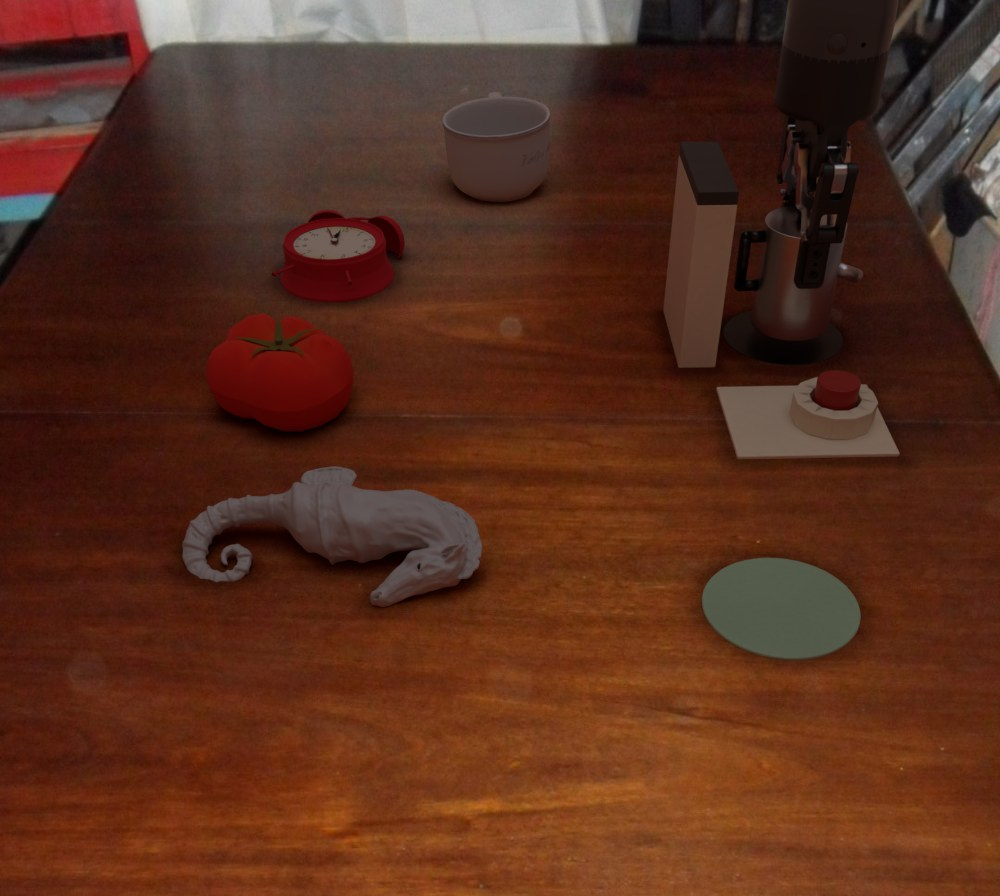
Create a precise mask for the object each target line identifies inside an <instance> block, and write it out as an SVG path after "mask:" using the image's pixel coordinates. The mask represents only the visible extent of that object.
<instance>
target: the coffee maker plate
mask: <svg viewBox="0 0 1000 896" xmlns="http://www.w3.org/2000/svg"><path fill="white" fill-rule="evenodd" d="M751 313H752V310H748V311H744V312H742V313H738V314H737V315H734V316H733V317H731V318H730V319H729V320H728V321H727V322H726V323H725V325H724V326H723V330H722V335H723V339H724V340H725V342H726V344H727V345H728V346H729V347H730V348H731V349H732V350H734V351H735V352H737V353H738V354H740V355H742V356H744V357H746V358H749V359H751V360H754V361H757V362H760V363H764V364H770V365H776V366H786V367H787V366H789V367H798V366H799V367H800V366H809V365H814V364H818V363H822V362H826V361H827V360H830V359H831V358H833V357H835V356H836V355H837V354H839V352H840V351H841V349H842V348H843V344H844V339H843V336H842V333H841V331H840V330H839V329H838V328H837V327H836V326H835V325H834V324H832V323H831V322H829V325H828V328H827V330H826V332H825V333H824V334H822V335H821V336H819V337H817V338H814V339H810V340H804V341H785V340H779V339H774V338H771V337H768V336H765V335H763V334H761V333H760V332H758V331H757V330H756V329H755V328H754V327H753V326H752V324H751Z"/></svg>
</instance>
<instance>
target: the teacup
mask: <svg viewBox="0 0 1000 896" xmlns="http://www.w3.org/2000/svg"><path fill="white" fill-rule="evenodd" d="M551 114H552V113H551V109H549V107H548V106H547V105H545V104H544V103H542V102H541V101H537V100H534V99H532V98H527V97H521V96H519V97H518V96H503V95H502V92H499V91H492V92H489V93H488V94H487V97H482V98H475V99H473V100H469V101H464V102H462V103H459V104H457V105H455V106H453V107H451V108H450V109H448V110H447V111H446V112H445V114H443V116H442V119H441V123H442V126H443V130H444V141H445V142H444V143H445V152H446V159H447V165H448V171H449V174H450V177H451V181H452V182H453V184H454V185H455V187H456V188H457V189H459V191H461V192H462V193H464V194H465V195H467V196H469V197H471V198H473V199H476V200H479V201H485V202H493V203H505V202H513V201H514V202H515V201H518V200H521V199H522V200H523V199H525V198H527V197H528V196H530V195H532V193H533V192H534V191H535V190H536V189H537V188H538V187H539V186H540V185H541V184H542V183H544V181H545V180H546V177H547V174H548V172H549V166H550V153H551V151H550V150H551V139H550V138H551V134H550V132H551V130H550V120H551Z"/></svg>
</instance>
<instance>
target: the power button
mask: <svg viewBox="0 0 1000 896" xmlns="http://www.w3.org/2000/svg"><path fill="white" fill-rule="evenodd" d="M817 377H818V378H817V383H816V388H815V392H814V397H813V400H814V403H816V404H817V405H819V406H820V407H823V408H827V409H830V410H834V411H846V410H851V409H853V408H854V407H855V406H856V404H857V399H858V395H859V391H860V387H861V384H862V381H861V379H860V378H859V377H858V376H857V375H855V374H854V373H852V372H848V371H844V370H839V369H838V370H837V369H831V370H826V371H823V372H821V373H820V374H819V375H818V376H817Z"/></svg>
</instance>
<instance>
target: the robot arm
mask: <svg viewBox="0 0 1000 896" xmlns="http://www.w3.org/2000/svg"><path fill="white" fill-rule="evenodd" d="M899 1H900V0H788V1H787V6H786V14H785V21H784V27H783V34H782V35H783V36H782V42H781V49H780V56H779V64H778V70H777V77H776V84H775V91H774V98H773V99H774V105H775V107H776V109H777V110H778V111H779V112H780V113H781V114H783V115H784V119H783V120H784V121H783V127H782V136H781V142H780V143H781V144H780V150H779V157H778V158H779V159H778V167H777V173H776V176H775V177H776V181H777V185H781V186H780V189H779V196H780V201H782V203H781V208H782V207H786V206H796V207H797V209H799V210H800V211H801V213H802V217H801V231H800V238H801V239H800V244H799V250H798V256H797V262H796V268H795V274H794V283H795V286H796V287H797V288H798V289H817V288H820V287H821V286H822V285H823V282H824V276H825V271H826V266H827V260H828V255H829V250H830V244H833V243H842V241H843V238H844V232H845V228H846V223H847V224H848V219H849V214H850V209H851V205H852V201H853V196H854V193H855V187H856V184H857V178H858V175H859V172H860V171H859V165H858V162H857V161H851V154H852V144H851V142H850V141H848V139H849V133H848V131H849V129H850V128H851V126H853V125H854V124H856V123H858V122H860V121H865V120H867V119H869V118H870V117H873V115H874V114H875V113H876V112H877V110H878V108H879V105H880V100H881V96H882V95H881V94H882V91H883V85H884V80H885V75H886V71H887V65H888V61H889V56H890V50H891V44H892V40H893V34H894V29H895V26H896V25H895V24H896V19H897V14H898V8H899V3H900V2H899ZM783 201H784V202H783ZM824 215H827V225H820V222H821V218H822V216H824Z"/></svg>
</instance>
